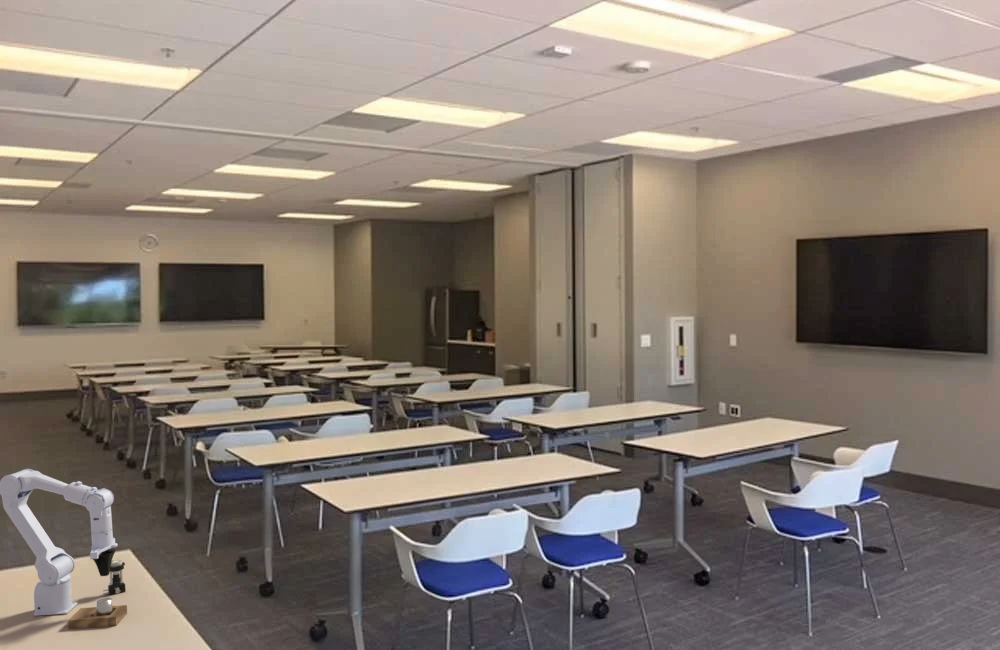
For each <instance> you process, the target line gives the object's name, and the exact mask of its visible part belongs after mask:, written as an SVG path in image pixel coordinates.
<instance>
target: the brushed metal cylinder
mask: <svg viewBox="0 0 1000 650" xmlns="http://www.w3.org/2000/svg"><path fill="white" fill-rule="evenodd" d="M112 606H113V598H111V597H103V598H99V599H97V601H96V607H97V616H106V615H111V614H112V612H113V609H112Z"/></svg>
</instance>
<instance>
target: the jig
mask: <svg viewBox="0 0 1000 650" xmlns="http://www.w3.org/2000/svg"><path fill="white" fill-rule="evenodd" d="M112 609H113V612H112V614H111V615H106V616H97V606H96V607H95V606H94V607H80V608H79V609H78V610H77V611H76V612H75V613H74V614H73V615H72V616H71V617H70V618H69V619H67V627H68V628H67V629H68V630H70V629H74V630H75V629H86V628H88V629H89V628H100V627H101V628H102V627H114V626H115V627H116V626H117V625H118V624H119V623H120V622H121V621H122V620H123V619H124V618H125V616H127V614H128V606H127V605H126V604H125V605H112Z"/></svg>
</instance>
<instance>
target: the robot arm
mask: <svg viewBox="0 0 1000 650" xmlns="http://www.w3.org/2000/svg"><path fill="white" fill-rule="evenodd" d="M36 489H38V490H42V491H46V492H51V493H53V494H54V493H55V494H57V495H62V496H63V498H64V500H65V501H68V502H69V503H73V504H76V505H79V506H82V507H85V508H86V510H87V511H88V513H89V517H90V519H89V520H90V533H91V534H90V535H91V544H92V545H91V549H90V550H91V551H90V552H89V557H90V559H89V560H93V562H94V563H95V565H96V568H97V570H98V573H99V575H100V577H108V576H110V567H111V562H112V561H113V557H114V555H115V553H116V549H115V548H116V547H118V545H119V544H118V543H117V542H116V538H115V537H114V535H113V534H114V533H113V531H114V530H113V517H112V504H113V503H114V501H115V496H114V493H113V492H112V490H109V489H107V488H104V487H103V488H100V489H98V487H96V486H93V487H92V486H89V485H86V484H83V482H82V481H80V480H78V481H73V482H71V483H69V484H68V483H66V482H63V481H61V480H58V479H55V478H53V477H51V476H48V475H45V474H43V473H42V472H40V471H38V470H34V469H31V468H23V469H21V470H19V471H17V472H14V473H11V474H7V475H4V476H3V477H2V478H1V479H0V496H1V500H2V507H3V509H4V511H5V513H6V514H7V516H8V517H9V519H10V520H11V522H12V523H13V524H14V526H15V528H16V530H17V531H18V532H19V534H20V535H21V537H22V538H23V540H24V541H25V542H26V544H27V546H28V547H29V548H30V549H31V552H32V553H33V555H34V556H35V558H36V559H35V562H34V568H35V570H36V572H37V577H38V580H39V582H37V583H36V585H35V587H34V592H33V600H34V603H33V604H34V605H33V606H34V613H33V616H34V617H35V616H37V617H38V616H48V615H49V616H51V615H66V614H68V613H69V612H70V611H71V610H73V609H74V608H75V607H76V606H77V605H78V602H73V600H72V598H73V597H72V596H73V595H72V579H71V578H72V572H74V570H75V567H76V562H75V560H74V558H73V557H72V556H71V555H69V554H68V553H67V552H66V551H65V550H64V549H63V548H60V547H57V546H55V545H54V543H53V541H52V540H51V538H50V537H49V535H48V534H47V533H46V531H45V530H44V528H43V527H42V525H41V524H40V522H39V520H38V519H37V517H36V516H35V515H34V513H33V511H32V510H31V509H30V507H29V506H28V504H27V502H28V500H29V496H30V495H31V494H32V493H33V490H36Z"/></svg>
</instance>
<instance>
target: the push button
mask: <svg viewBox="0 0 1000 650" xmlns="http://www.w3.org/2000/svg"><path fill="white" fill-rule="evenodd" d="M125 565H126V563H125V562H124V561H122V560H121V559H114V560H113V559H112V562H111V567H110V573H109V585H107V589H105V590H104V589H103V590H102V592H104V593H102V594H103V595H106V594H108V595H110V596H111V595H116V594H120V593H121V594H122V593H125V592H126V591H127V590H126V584H125V582H124V580H123V570H124V569H125Z"/></svg>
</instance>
